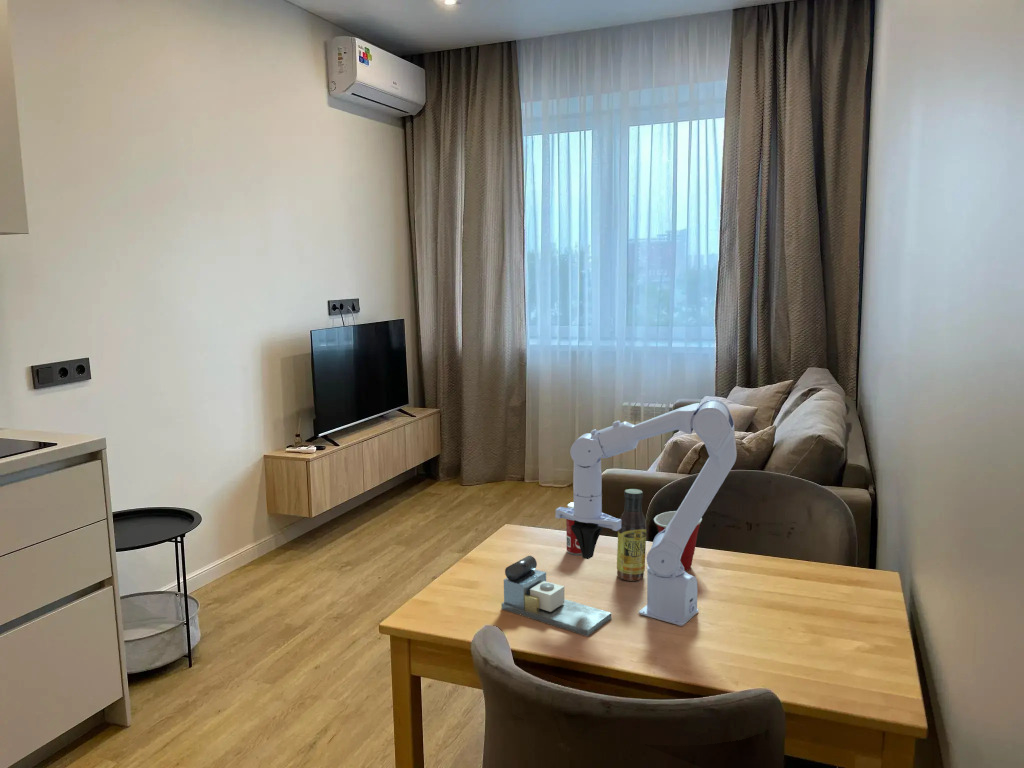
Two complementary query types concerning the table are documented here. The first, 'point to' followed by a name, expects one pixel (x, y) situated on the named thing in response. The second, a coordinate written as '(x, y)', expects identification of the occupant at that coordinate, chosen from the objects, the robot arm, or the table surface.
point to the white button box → (548, 595)
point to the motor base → (523, 603)
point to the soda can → (572, 537)
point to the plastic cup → (689, 549)
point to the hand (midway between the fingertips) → (587, 557)
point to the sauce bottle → (632, 538)
